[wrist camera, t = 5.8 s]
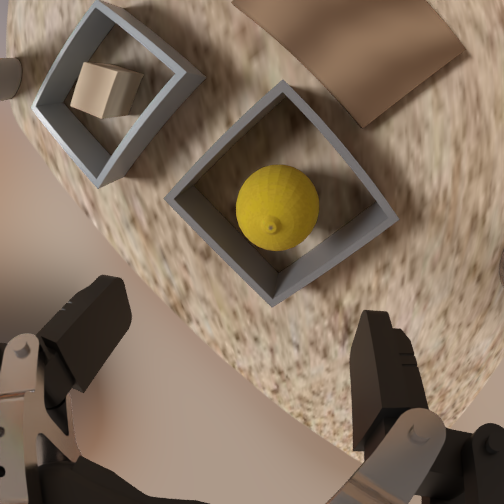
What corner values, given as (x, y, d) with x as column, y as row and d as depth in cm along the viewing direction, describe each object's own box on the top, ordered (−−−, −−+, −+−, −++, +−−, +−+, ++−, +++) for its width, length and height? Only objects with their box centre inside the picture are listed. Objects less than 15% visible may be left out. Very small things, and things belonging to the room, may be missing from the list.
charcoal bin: (386, 202, 22) (399, 219, 19) (277, 281, 27) (272, 307, 24) (287, 85, 20) (282, 79, 16) (184, 185, 25) (163, 198, 21)
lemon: (292, 235, 25) (282, 287, 18) (237, 198, 25) (205, 236, 18) (332, 184, 22) (341, 219, 15) (274, 143, 22) (255, 158, 15)
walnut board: (460, 51, 15) (465, 49, 14) (360, 127, 20) (362, 128, 19) (339, -66, 12) (339, -71, 11) (234, 6, 17) (231, 2, 16)
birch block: (144, 74, 21) (117, 71, 17) (128, 115, 23) (101, 118, 19) (111, 64, 21) (83, 61, 17) (98, 103, 23) (70, 105, 19)
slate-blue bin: (206, 77, 20) (186, 72, 17) (123, 177, 26) (97, 189, 22) (122, 8, 18) (96, -1, 14) (58, 103, 23) (30, 108, 20)
